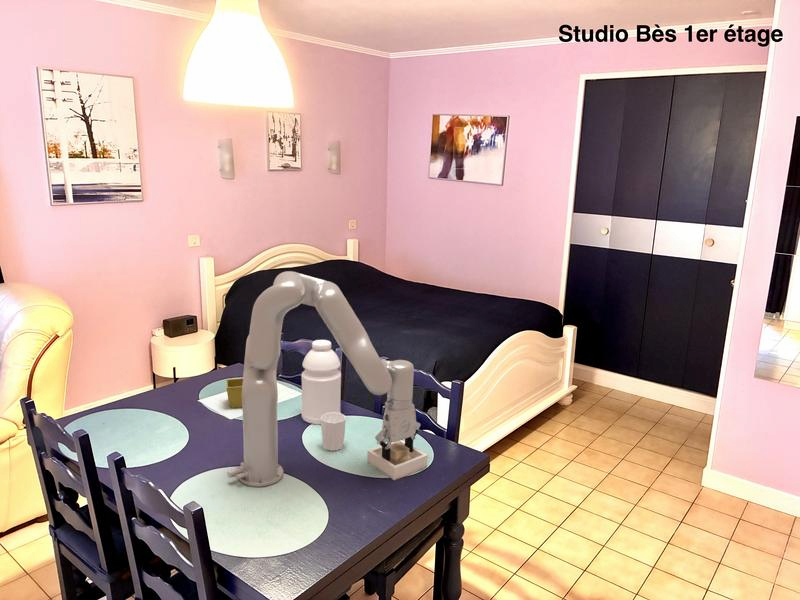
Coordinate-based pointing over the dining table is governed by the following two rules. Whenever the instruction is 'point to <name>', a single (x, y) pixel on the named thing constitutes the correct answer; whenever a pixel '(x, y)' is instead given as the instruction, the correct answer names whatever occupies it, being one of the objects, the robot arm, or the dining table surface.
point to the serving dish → (398, 471)
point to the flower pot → (234, 392)
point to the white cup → (333, 430)
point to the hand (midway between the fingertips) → (397, 454)
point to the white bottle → (320, 382)
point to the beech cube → (398, 453)
